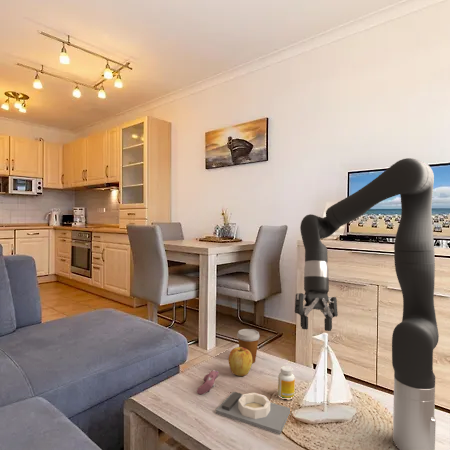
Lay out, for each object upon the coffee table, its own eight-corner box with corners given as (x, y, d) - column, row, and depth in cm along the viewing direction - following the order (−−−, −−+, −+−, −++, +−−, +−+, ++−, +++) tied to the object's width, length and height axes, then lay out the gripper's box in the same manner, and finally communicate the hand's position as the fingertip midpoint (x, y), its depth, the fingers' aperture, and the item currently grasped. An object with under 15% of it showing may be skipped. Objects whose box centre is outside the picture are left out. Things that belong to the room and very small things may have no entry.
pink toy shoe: (206, 401, 106) (216, 383, 105) (195, 393, 107) (204, 375, 106) (213, 386, 116) (222, 369, 115) (202, 379, 117) (211, 363, 116)
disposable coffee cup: (258, 367, 128) (259, 337, 128) (235, 364, 130) (235, 335, 130) (259, 357, 138) (260, 329, 138) (237, 355, 139) (238, 327, 139)
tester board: (291, 411, 98) (292, 400, 98) (279, 434, 88) (280, 421, 88) (233, 394, 107) (233, 384, 107) (215, 413, 97) (216, 401, 97)
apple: (252, 369, 126) (253, 344, 126) (251, 380, 117) (251, 353, 117) (229, 367, 127) (230, 342, 127) (226, 378, 118) (227, 351, 118)
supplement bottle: (274, 394, 108) (275, 366, 108) (287, 391, 110) (287, 363, 110) (285, 402, 103) (285, 373, 103) (297, 398, 106) (298, 369, 106)
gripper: (304, 272, 96) (304, 329, 92) (342, 278, 101) (343, 332, 97) (290, 275, 103) (289, 328, 98) (326, 279, 108) (327, 330, 103)
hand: (316, 330), depth 97 cm, fingers open, 8 cm apart
